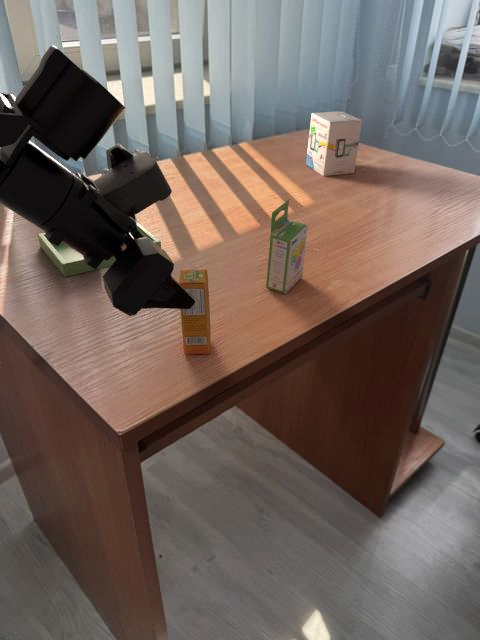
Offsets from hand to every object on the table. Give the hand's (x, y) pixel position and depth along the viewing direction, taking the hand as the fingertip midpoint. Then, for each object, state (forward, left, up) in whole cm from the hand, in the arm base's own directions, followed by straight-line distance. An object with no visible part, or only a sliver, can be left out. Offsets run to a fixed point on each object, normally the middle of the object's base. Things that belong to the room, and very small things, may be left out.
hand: (177, 284), depth 57 cm
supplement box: (+2, 0, -9) cm, 10 cm away
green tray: (+2, +30, -9) cm, 31 cm away
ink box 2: (+63, +44, -9) cm, 77 cm away
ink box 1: (+21, +7, -9) cm, 24 cm away
